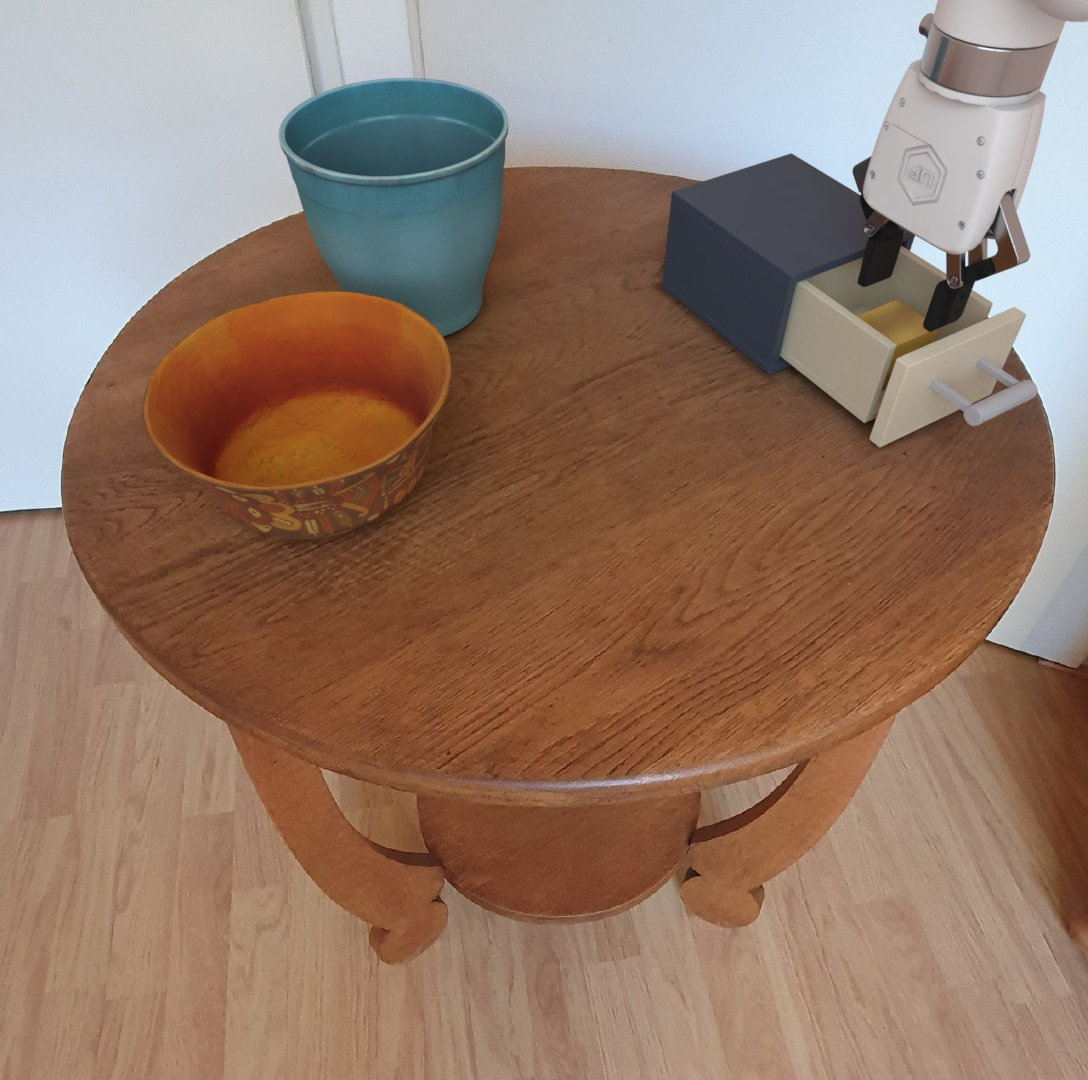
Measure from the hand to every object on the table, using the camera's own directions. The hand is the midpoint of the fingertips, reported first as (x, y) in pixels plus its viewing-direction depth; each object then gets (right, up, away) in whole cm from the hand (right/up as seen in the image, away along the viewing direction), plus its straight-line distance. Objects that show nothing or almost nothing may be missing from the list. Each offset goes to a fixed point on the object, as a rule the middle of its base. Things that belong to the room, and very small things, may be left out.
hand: (906, 300), depth 73 cm
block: (0, -4, +5) cm, 7 cm away
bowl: (-45, -14, -1) cm, 47 cm away
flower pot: (-40, +3, +14) cm, 42 cm away
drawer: (+1, -6, +5) cm, 8 cm away
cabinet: (-7, +3, +14) cm, 16 cm away
